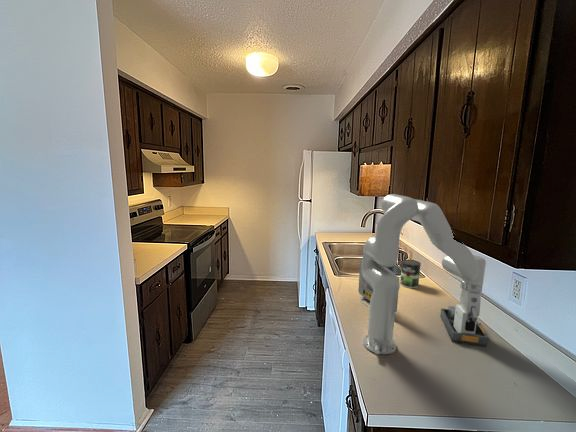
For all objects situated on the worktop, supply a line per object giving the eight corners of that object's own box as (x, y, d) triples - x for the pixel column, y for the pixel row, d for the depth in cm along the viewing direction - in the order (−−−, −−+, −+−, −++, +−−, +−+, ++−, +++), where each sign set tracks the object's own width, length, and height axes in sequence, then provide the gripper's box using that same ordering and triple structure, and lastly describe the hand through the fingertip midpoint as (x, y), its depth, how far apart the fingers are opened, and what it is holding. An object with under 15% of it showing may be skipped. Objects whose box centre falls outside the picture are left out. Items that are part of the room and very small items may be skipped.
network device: (400, 316, 143) (403, 276, 139) (385, 319, 139) (388, 279, 136) (367, 294, 166) (369, 259, 162) (353, 296, 163) (355, 261, 159)
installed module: (470, 327, 132) (472, 314, 131) (450, 324, 135) (451, 312, 133) (466, 320, 138) (467, 308, 137) (447, 317, 140) (448, 305, 139)
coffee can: (416, 289, 173) (418, 266, 170) (397, 285, 179) (399, 262, 176) (420, 284, 181) (422, 261, 179) (402, 279, 187) (404, 258, 185)
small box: (474, 338, 122) (478, 314, 120) (459, 336, 123) (463, 312, 121) (466, 327, 130) (470, 305, 128) (452, 326, 131) (455, 303, 129)
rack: (487, 347, 120) (488, 337, 119) (452, 342, 123) (453, 332, 122) (469, 320, 140) (470, 311, 140) (440, 316, 144) (441, 307, 143)
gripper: (489, 296, 114) (483, 338, 117) (474, 279, 130) (469, 316, 133) (467, 293, 115) (462, 334, 119) (455, 277, 132) (450, 313, 135)
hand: (466, 324), depth 126 cm, fingers closed on small box, 8 cm apart
